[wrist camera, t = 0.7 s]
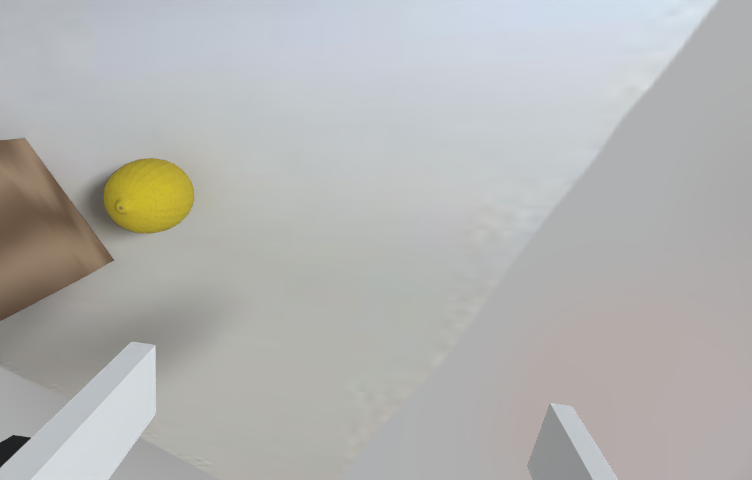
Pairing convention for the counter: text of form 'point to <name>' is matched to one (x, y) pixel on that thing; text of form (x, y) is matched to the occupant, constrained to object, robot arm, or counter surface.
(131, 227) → the lemon
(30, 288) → the walnut plinth
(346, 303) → the counter surface
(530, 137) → the counter surface
